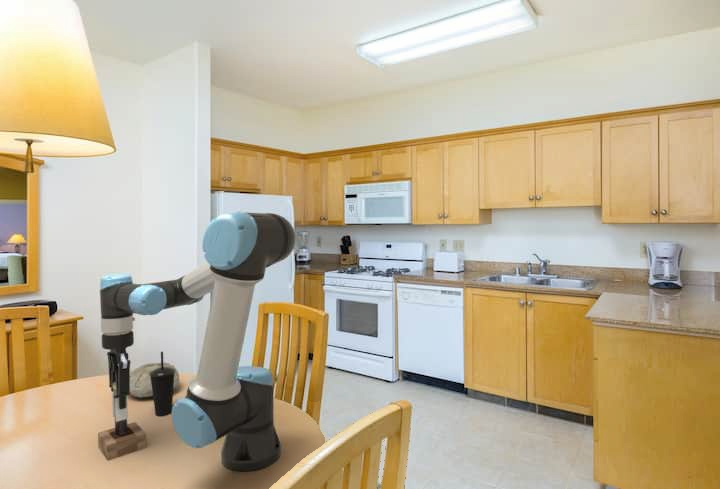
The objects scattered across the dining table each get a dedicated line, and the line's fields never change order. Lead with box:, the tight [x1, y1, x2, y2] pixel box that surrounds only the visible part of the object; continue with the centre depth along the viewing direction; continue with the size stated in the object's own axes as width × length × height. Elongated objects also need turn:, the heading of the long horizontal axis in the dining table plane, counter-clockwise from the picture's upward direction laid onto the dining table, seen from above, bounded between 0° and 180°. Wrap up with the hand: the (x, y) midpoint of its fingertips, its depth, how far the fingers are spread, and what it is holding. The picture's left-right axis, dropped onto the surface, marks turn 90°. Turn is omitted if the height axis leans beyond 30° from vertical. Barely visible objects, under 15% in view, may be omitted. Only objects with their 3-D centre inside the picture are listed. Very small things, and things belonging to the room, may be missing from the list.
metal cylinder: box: [112, 381, 128, 435], centre depth 119 cm, size 3×3×14 cm
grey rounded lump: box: [130, 362, 180, 398], centre depth 157 cm, size 18×18×10 cm
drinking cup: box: [149, 351, 175, 417], centre depth 140 cm, size 8×8×20 cm
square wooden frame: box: [97, 421, 147, 461], centre depth 119 cm, size 9×9×4 cm
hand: (120, 417), depth 119 cm, fingers closed on metal cylinder, 3 cm apart
